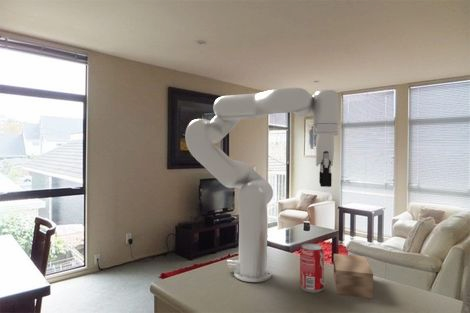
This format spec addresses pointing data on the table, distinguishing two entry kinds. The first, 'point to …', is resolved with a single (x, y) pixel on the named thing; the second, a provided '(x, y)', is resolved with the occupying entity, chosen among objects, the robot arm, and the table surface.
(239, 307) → the table surface
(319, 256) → the soda can
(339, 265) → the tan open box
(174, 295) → the table surface
